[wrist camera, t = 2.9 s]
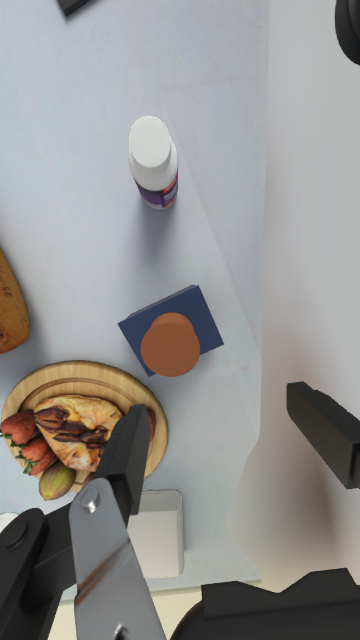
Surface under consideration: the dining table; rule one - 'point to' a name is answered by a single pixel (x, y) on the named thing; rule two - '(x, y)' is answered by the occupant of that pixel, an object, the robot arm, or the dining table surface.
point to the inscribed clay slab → (11, 310)
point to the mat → (71, 5)
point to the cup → (6, 519)
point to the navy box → (182, 303)
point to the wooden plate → (74, 422)
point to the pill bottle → (153, 162)
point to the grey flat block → (158, 534)
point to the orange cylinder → (170, 345)
